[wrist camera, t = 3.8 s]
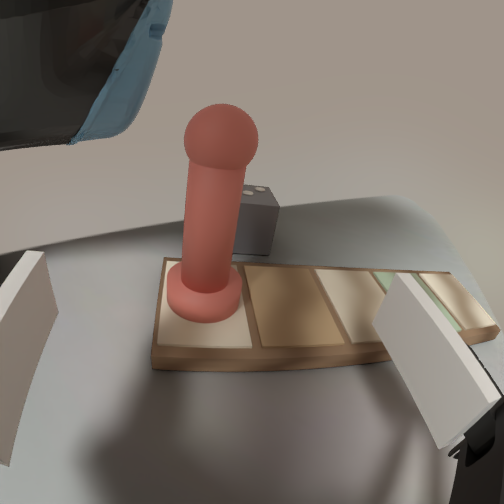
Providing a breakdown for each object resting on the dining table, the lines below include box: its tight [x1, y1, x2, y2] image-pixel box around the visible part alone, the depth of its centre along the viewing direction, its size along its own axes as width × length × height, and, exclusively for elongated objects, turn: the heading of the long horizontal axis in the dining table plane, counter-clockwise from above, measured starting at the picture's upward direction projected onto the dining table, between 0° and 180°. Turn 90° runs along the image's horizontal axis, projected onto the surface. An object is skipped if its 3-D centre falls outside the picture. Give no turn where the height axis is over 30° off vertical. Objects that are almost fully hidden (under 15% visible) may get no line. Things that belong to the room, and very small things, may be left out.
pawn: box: [167, 104, 258, 323], centre depth 17 cm, size 5×5×12 cm
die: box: [233, 185, 280, 255], centre depth 30 cm, size 5×5×5 cm
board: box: [151, 257, 500, 372], centre depth 23 cm, size 30×10×1 cm, turn 99°
